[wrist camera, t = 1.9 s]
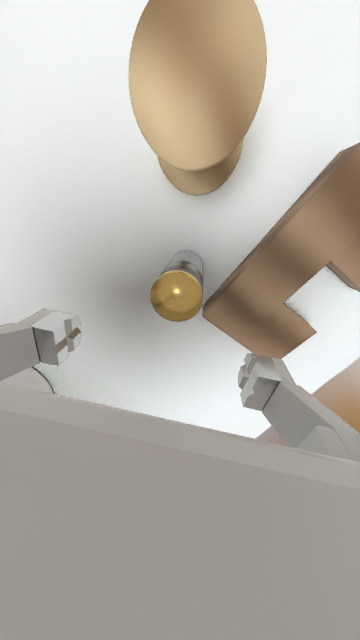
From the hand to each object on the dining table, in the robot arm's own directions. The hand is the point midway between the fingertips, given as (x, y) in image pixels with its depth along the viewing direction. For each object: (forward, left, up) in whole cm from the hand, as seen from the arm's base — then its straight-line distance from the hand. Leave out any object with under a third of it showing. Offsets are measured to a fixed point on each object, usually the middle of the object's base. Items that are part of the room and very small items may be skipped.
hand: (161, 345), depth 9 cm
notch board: (+7, -11, -17) cm, 21 cm away
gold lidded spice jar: (0, 0, -17) cm, 17 cm away
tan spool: (+10, +6, -17) cm, 21 cm away
